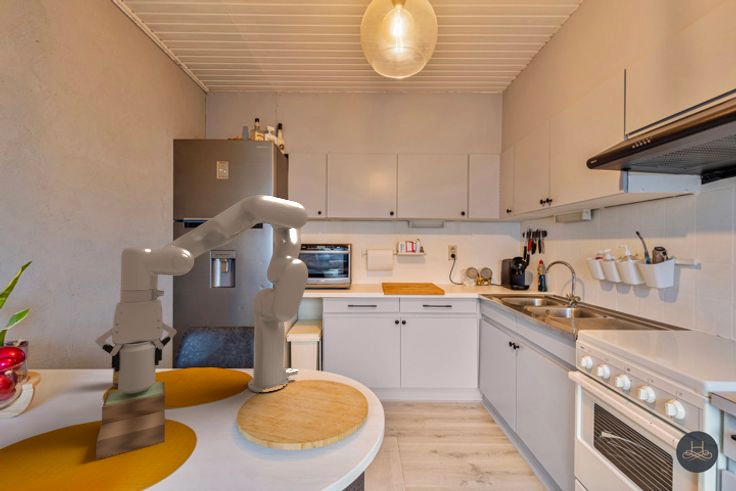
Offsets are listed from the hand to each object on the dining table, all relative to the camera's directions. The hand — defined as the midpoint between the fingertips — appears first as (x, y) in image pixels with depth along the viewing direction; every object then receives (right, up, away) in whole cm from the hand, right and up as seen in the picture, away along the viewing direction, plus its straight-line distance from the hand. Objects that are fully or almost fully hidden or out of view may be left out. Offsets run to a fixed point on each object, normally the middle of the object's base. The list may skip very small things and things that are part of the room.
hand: (137, 366), depth 79 cm
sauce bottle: (-21, -15, +23) cm, 34 cm away
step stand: (+2, -15, -3) cm, 15 cm away
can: (0, -6, 0) cm, 6 cm away
